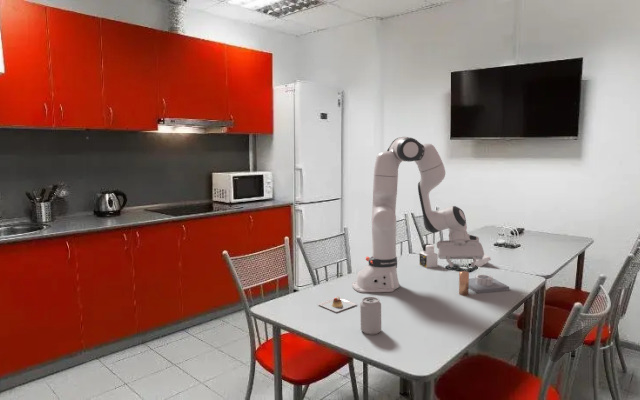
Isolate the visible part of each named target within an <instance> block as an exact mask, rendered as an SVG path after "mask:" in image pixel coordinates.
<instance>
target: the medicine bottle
mask: <svg viewBox="0 0 640 400" xmlns="http://www.w3.org/2000/svg"><path fill="white" fill-rule="evenodd" d="M438 258H439V257H438V253H437V252H435V245H434V244H432V243H424V244H423V245H422V251H420V252H419V265H420V266H421V267H424V268H426V269H429V268H436V267H437V268H438V262H439V260H438Z"/></svg>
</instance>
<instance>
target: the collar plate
mask: <svg viewBox="0 0 640 400" xmlns="http://www.w3.org/2000/svg"><path fill="white" fill-rule="evenodd" d="M469 290H471V291H473V292H475V293H476V294H483V293H492V292H500V291H501V292H502V291H503V292H504V291H510V286H509V285H507V284H505V283H503V282H501V281H499V280H497V279H495V278H494V277H493V276H492V275H489V274H476V275H475V277H474V278H469Z"/></svg>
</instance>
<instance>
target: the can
mask: <svg viewBox="0 0 640 400" xmlns="http://www.w3.org/2000/svg"><path fill="white" fill-rule="evenodd" d="M359 307H360V330H361V331H362V332H363V333H364V334H365V335H368V336H369V335H370V336H372V335H377V334H379V333H380V332H381V331H382V303H381V302H380V299H379V298H378V297H376V296H366V297H363V298H362V299H361V302H360V305H359Z"/></svg>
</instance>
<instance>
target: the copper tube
mask: <svg viewBox="0 0 640 400" xmlns="http://www.w3.org/2000/svg"><path fill="white" fill-rule="evenodd" d="M458 276H459V281H458V294H459V296H464V297H465V296H469V290H470V289H469V279H470V273H469V271H466V270H460V271H459V275H458Z"/></svg>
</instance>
